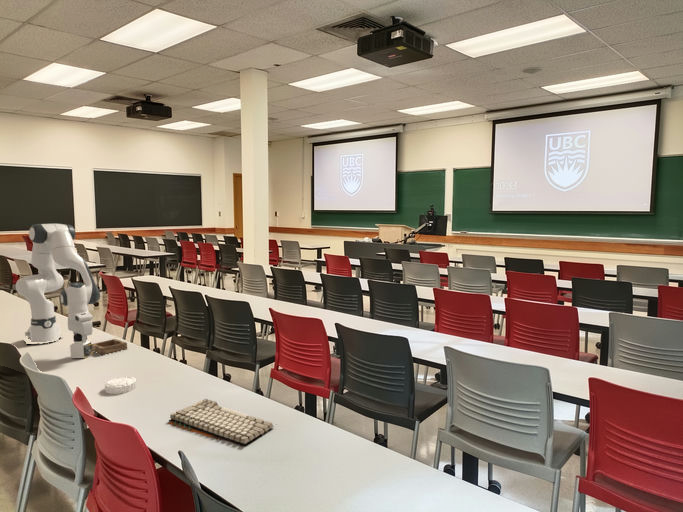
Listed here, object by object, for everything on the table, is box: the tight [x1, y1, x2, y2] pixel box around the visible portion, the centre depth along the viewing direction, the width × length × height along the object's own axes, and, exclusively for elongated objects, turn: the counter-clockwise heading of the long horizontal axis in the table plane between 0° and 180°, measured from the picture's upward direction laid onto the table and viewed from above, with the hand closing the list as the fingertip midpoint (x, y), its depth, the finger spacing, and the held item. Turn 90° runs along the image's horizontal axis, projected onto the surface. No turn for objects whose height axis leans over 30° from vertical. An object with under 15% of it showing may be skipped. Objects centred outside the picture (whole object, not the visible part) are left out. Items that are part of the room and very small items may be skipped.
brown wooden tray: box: [91, 338, 128, 356], centre depth 253 cm, size 13×13×4 cm
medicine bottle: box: [69, 333, 93, 359], centre depth 242 cm, size 7×7×12 cm
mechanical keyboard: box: [167, 398, 278, 448], centre depth 166 cm, size 38×19×3 cm, turn 59°
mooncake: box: [104, 376, 137, 395], centre depth 199 cm, size 12×12×4 cm
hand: (80, 341), depth 241 cm, fingers closed on medicine bottle, 6 cm apart
